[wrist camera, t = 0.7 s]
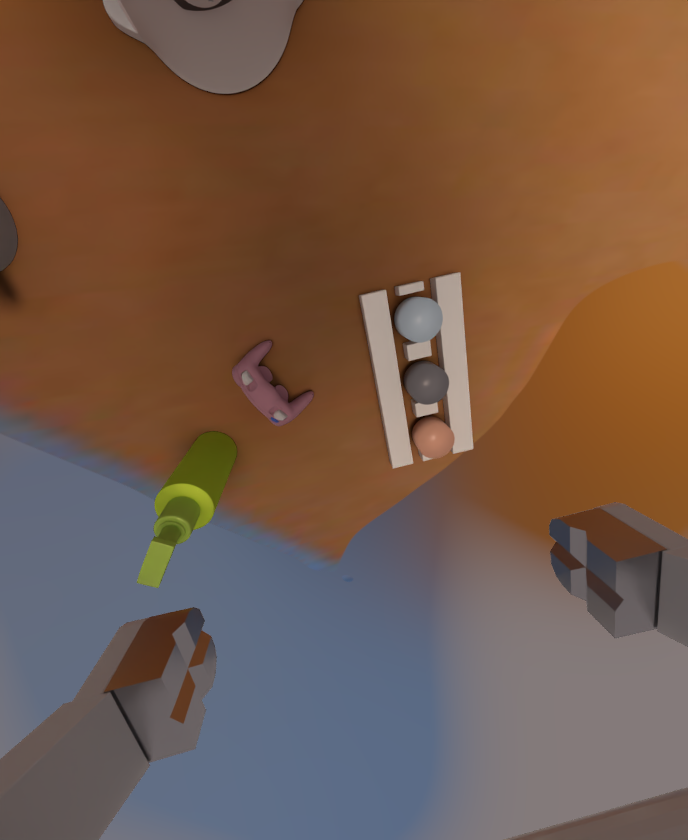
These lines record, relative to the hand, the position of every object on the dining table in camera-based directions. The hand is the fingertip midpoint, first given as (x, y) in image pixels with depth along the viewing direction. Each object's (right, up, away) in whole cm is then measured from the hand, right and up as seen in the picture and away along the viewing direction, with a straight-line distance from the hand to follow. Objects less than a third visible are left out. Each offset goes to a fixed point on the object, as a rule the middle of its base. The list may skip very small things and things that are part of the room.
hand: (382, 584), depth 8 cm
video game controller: (-10, +9, +37) cm, 39 cm away
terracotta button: (+11, +2, +40) cm, 42 cm away
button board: (+9, +10, +39) cm, 41 cm away
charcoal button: (+9, +9, +37) cm, 40 cm away
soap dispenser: (-19, -1, +40) cm, 44 cm away
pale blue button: (+8, +16, +34) cm, 39 cm away
